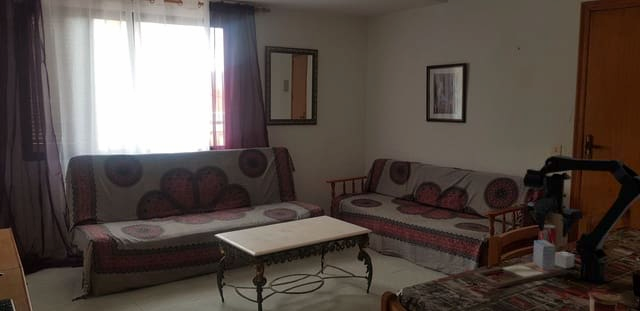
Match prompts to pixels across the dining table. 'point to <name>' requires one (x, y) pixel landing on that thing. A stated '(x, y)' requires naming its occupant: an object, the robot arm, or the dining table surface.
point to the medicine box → (544, 255)
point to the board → (518, 274)
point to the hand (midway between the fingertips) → (552, 234)
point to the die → (564, 259)
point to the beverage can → (548, 234)
